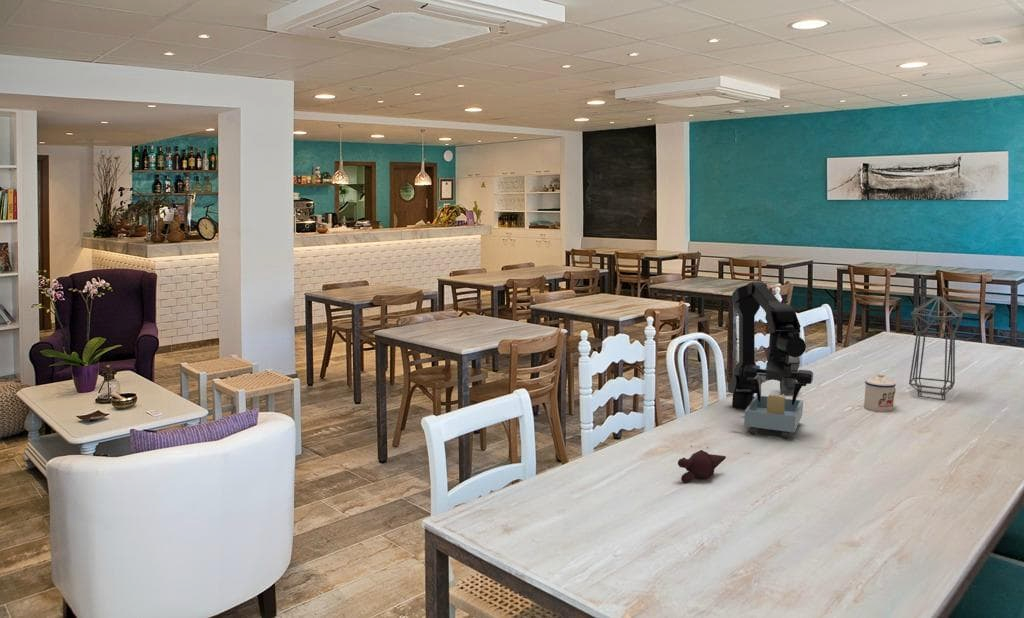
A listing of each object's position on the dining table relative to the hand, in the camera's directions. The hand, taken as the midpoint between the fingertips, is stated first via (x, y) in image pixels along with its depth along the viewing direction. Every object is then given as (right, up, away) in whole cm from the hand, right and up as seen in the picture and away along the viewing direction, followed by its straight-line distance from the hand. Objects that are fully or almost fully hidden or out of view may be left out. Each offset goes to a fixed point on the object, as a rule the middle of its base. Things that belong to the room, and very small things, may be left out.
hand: (776, 403), depth 230 cm
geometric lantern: (+69, -3, +45) cm, 82 cm away
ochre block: (0, -4, +1) cm, 4 cm away
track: (-2, -9, +2) cm, 9 cm away
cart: (0, -8, +1) cm, 8 cm away
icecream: (-30, -14, -35) cm, 48 cm away
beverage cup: (+20, -3, +47) cm, 51 cm away
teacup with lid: (+44, -5, +30) cm, 54 cm away
